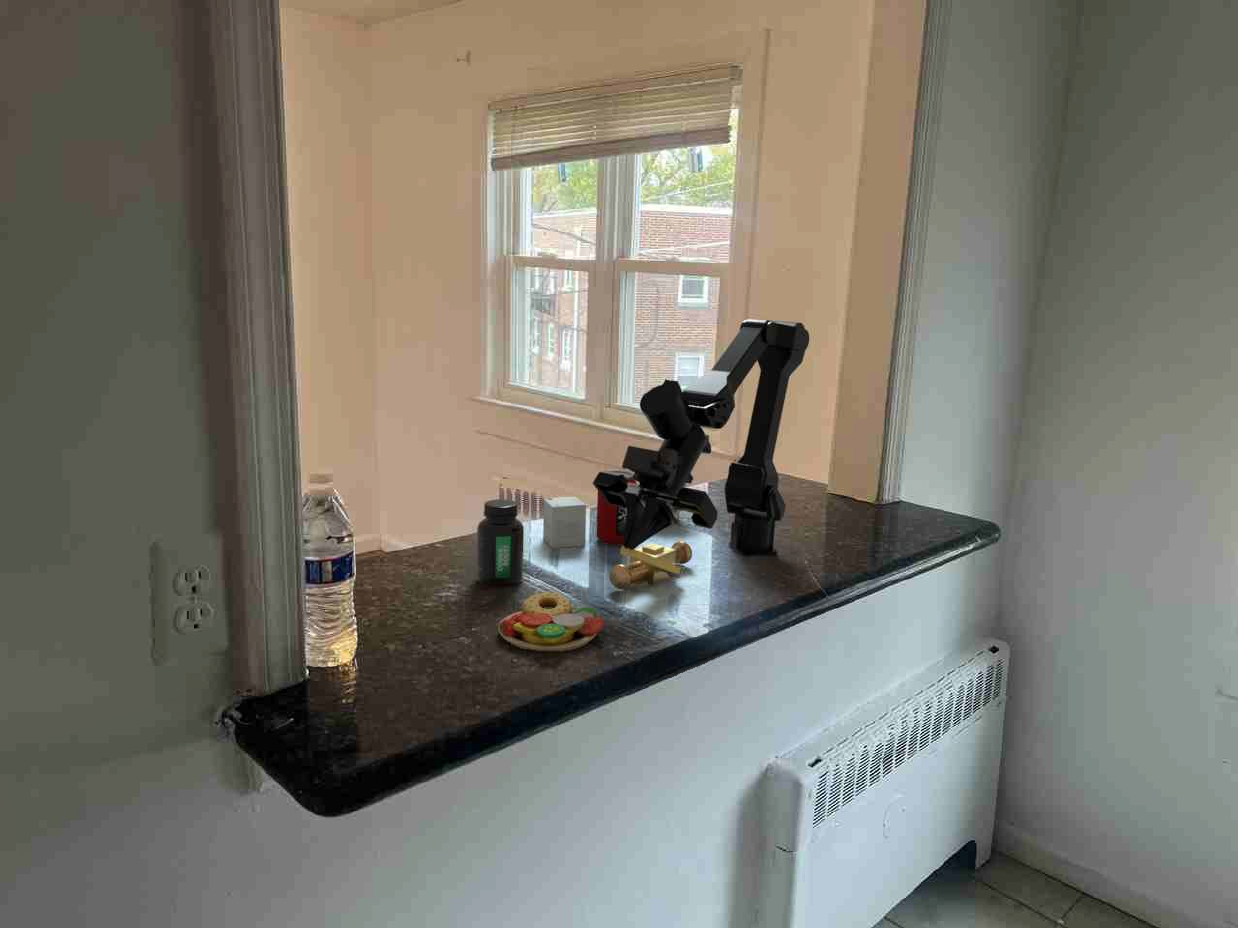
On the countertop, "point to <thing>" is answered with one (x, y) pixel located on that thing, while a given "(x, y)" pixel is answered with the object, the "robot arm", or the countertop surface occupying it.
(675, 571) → the lever
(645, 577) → the valve body
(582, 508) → the skincare box
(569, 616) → the toy food set
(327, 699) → the countertop surface
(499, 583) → the supplement bottle
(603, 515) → the beverage can
